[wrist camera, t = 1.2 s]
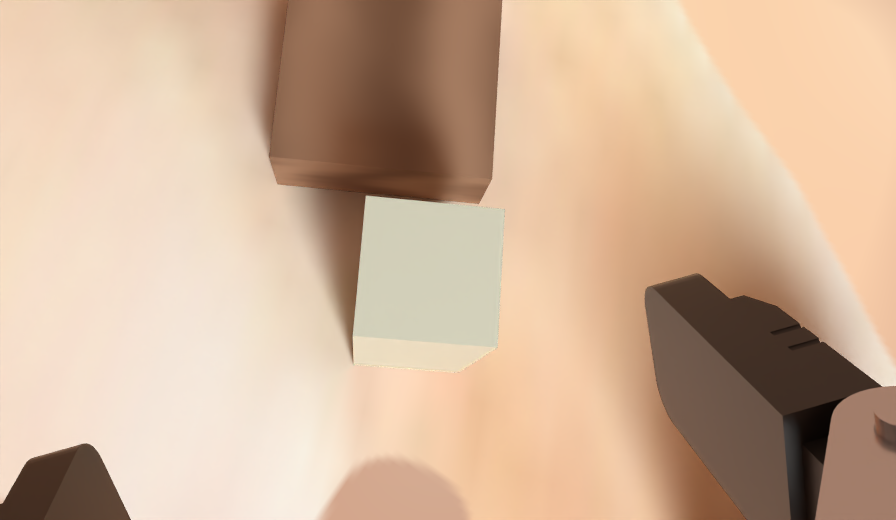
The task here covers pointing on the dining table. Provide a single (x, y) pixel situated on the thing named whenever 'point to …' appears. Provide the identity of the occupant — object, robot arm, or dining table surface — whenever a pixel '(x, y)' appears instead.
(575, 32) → the dining table surface
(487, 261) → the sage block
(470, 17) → the walnut plinth
